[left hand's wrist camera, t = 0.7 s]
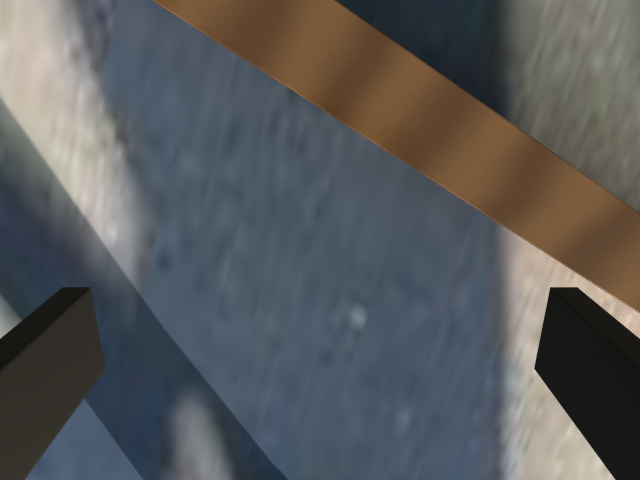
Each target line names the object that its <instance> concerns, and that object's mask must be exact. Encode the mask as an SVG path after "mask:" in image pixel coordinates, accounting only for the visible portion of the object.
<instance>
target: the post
mask: <svg viewBox="0 0 640 480" xmlns="http://www.w3.org/2000/svg"><path fill="white" fill-rule="evenodd" d="M153 1H154V2H156V3H157V4H159V5H161V6H162V7H164V8H165V9H167V10H168V11H170V12H171V13H173V14H175V15H176V16H178V17H179V18H181V19H182V20H184V21H185V22H187V23H189V24H190V25H192V26H193V27H195V28H196V29H198V30H199V31H201V32H203V33H204V34H206V35H207V36H209V37H210V38H212V39H213V40H215V41H217V42H218V43H220V44H221V45H223V46H224V47H226V48H227V49H229V50H231V51H232V52H234V53H235V54H237V55H238V56H240V57H241V58H243V59H245V60H246V61H248V62H249V63H251V64H252V65H254V66H255V67H257V68H259V69H260V70H262V71H263V72H265V73H266V74H268V75H269V76H271V77H273V78H274V79H276V80H277V81H279V82H280V83H282V84H283V85H285V86H286V87H288V88H290V89H291V90H293V91H294V92H296V93H297V94H299V95H300V96H302V97H304V98H305V99H307V100H308V101H310V102H311V103H313V104H314V105H316V106H318V107H319V108H321V109H322V110H324V111H325V112H327V113H328V114H330V115H332V116H333V117H335V118H336V119H338V120H339V121H341V122H342V123H344V124H346V125H347V126H349V127H350V128H352V129H353V130H355V131H356V132H358V133H360V134H361V135H363V136H364V137H366V138H367V139H369V140H370V141H372V142H374V143H375V144H377V145H378V146H380V147H381V148H383V149H384V150H386V151H388V152H389V153H391V154H392V155H394V156H395V157H397V158H398V159H400V160H402V161H403V162H405V163H406V164H408V165H409V166H411V167H412V168H414V169H416V170H417V171H419V172H420V173H422V174H423V175H425V176H426V177H428V178H430V179H431V180H433V181H434V182H436V183H437V184H439V185H440V186H442V187H444V188H445V189H447V190H448V191H450V192H451V193H453V194H454V195H456V196H458V197H459V198H461V199H462V200H464V201H465V202H467V203H468V204H470V205H472V206H473V207H475V208H476V209H478V210H479V211H481V212H482V213H484V214H486V215H487V216H489V217H490V218H492V219H493V220H495V221H496V222H498V223H500V224H501V225H503V226H504V227H506V228H507V229H509V230H510V231H512V232H514V233H515V234H517V235H518V236H520V237H521V238H523V239H524V240H526V241H527V242H529V243H531V244H532V245H534V246H535V247H537V248H538V249H540V250H541V251H543V252H545V253H546V254H548V255H549V256H551V257H552V258H554V259H555V260H557V261H559V262H560V263H562V264H563V265H565V266H566V267H568V268H569V269H571V270H573V271H574V272H576V273H577V274H579V275H580V276H582V277H583V278H585V279H587V280H588V281H590V282H591V283H593V284H594V285H596V286H597V287H599V288H601V289H602V290H604V291H605V292H607V293H608V294H610V295H611V296H613V297H615V298H616V299H618V300H619V301H621V302H622V303H624V304H625V305H627V306H629V307H630V308H632V309H633V310H635V311H636V312H638V313H639V314H640V213H639V212H638V211H636V210H635V209H633V208H632V207H631V206H629V205H628V204H626V203H625V202H623V201H622V200H621V199H619V198H618V197H616V196H615V195H613V194H612V193H611V192H609V191H608V190H606V189H605V188H603V187H602V186H601V185H599V184H598V183H596V182H595V181H593V180H592V179H591V178H589V177H588V176H586V175H585V174H583V173H582V172H581V171H579V170H578V169H576V168H575V167H573V166H572V165H571V164H569V163H568V162H566V161H565V160H563V159H562V158H561V157H559V156H558V155H556V154H555V153H553V152H552V151H551V150H549V149H548V148H546V147H545V146H543V145H542V144H541V143H539V142H538V141H536V140H535V139H533V138H532V137H531V136H529V135H528V134H526V133H525V132H524V131H522V130H521V129H519V128H518V127H516V126H515V125H514V124H512V123H511V122H509V121H508V120H506V119H505V118H504V117H502V116H501V115H499V114H498V113H496V112H495V111H494V110H492V109H491V108H489V107H488V106H486V105H485V104H484V103H482V102H481V101H479V100H478V99H476V98H475V97H474V96H472V95H471V94H469V93H468V92H466V91H465V90H464V89H462V88H461V87H459V86H458V85H456V84H455V83H454V82H452V81H451V80H449V79H448V78H446V77H445V76H444V75H442V74H441V73H439V72H438V71H436V70H435V69H434V68H432V67H431V66H429V65H428V64H426V63H425V62H424V61H422V60H421V59H419V58H418V57H416V56H415V55H414V54H412V53H411V52H409V51H408V50H406V49H405V48H404V47H402V46H401V45H399V44H398V43H396V42H395V41H394V40H392V39H391V38H389V37H388V36H386V35H385V34H384V33H382V32H381V31H379V30H378V29H376V28H375V27H374V26H372V25H371V24H369V23H368V22H366V21H365V20H364V19H362V18H361V17H359V16H358V15H356V14H355V13H354V12H352V11H351V10H349V9H348V8H346V7H345V6H344V5H342V4H341V3H339V2H338V1H336V0H153Z"/></svg>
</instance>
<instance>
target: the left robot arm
mask: <svg viewBox="0 0 640 480" xmlns="http://www.w3.org/2000/svg"><path fill="white" fill-rule="evenodd" d="M105 369H106V368H105V362H104V357H103V352H102V347H101V342H100V337H99V332H98V327H97V322H96V317H95V312H94V307H93V302H92V297H91V292H90V287H63V288H61V289H60V290H59V291H58V292H57V293H55V294H54V295H53V296H52V297H51V298H49V299H48V300H47V301H46V302H44V303H43V304H42V305H41V306H40V307H38V308H37V309H36V310H35V311H34V312H32V313H31V314H30V315H29V316H27V317H26V318H25V319H24V320H23V321H21V322H20V323H19V324H18V325H17V326H15V327H14V328H13V329H12V330H10V331H9V332H8V333H7V334H6V335H4V336H3V337H2V338H1V339H0V480H25V478H26V477H27V476H28V474H29V473H30V471H31V470H32V469H33V467H34V466H35V465H36V463H37V462H38V461H39V459H40V458H41V456H42V455H43V454H44V452H45V451H46V450H47V448H48V447H49V445H50V444H51V443H52V441H53V440H54V439H55V437H56V436H57V435H58V433H59V432H60V430H61V429H62V428H63V426H64V425H65V424H66V422H67V421H68V419H69V418H70V417H71V415H72V414H73V413H74V411H75V410H76V409H77V407H78V406H79V404H80V403H81V402H82V400H83V399H84V398H85V396H86V395H87V393H88V392H89V391H90V389H91V388H92V387H93V385H94V384H95V383H96V381H97V380H98V378H99V377H100V376H101V374H102V373H103V372H104V370H105ZM534 369H535V370H536V372H537V373H538V374H539V376H540V377H541V378H542V380H543V381H544V383H545V384H546V385H547V387H548V388H549V389H550V391H551V392H552V393H553V395H554V396H555V398H556V399H557V400H558V402H559V403H560V404H561V406H562V407H563V409H564V410H565V411H566V413H567V414H568V415H569V417H570V418H571V419H572V421H573V422H574V424H575V425H576V426H577V428H578V429H579V430H580V432H581V433H582V435H583V436H584V437H585V439H586V440H587V441H588V443H589V444H590V445H591V447H592V448H593V450H594V451H595V452H596V454H597V455H598V456H599V458H600V459H601V461H602V462H603V463H604V465H605V466H606V467H607V469H608V470H609V471H610V473H611V474H612V476H613V477H614V478H615V480H640V339H639V338H638V337H637V336H636V335H634V334H633V333H632V332H631V331H630V330H628V329H627V328H626V327H625V326H623V325H622V324H621V323H620V322H619V321H617V320H616V319H615V318H614V317H613V316H611V315H610V314H609V313H608V312H606V311H605V310H604V309H603V308H602V307H600V306H599V305H598V304H597V303H596V302H594V301H593V300H592V299H591V298H589V297H588V296H587V295H586V294H585V293H583V292H582V291H581V290H580V289H579V288H577V287H550V292H549V297H548V302H547V307H546V312H545V317H544V322H543V327H542V332H541V337H540V342H539V347H538V352H537V357H536V362H535V368H534Z"/></svg>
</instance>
